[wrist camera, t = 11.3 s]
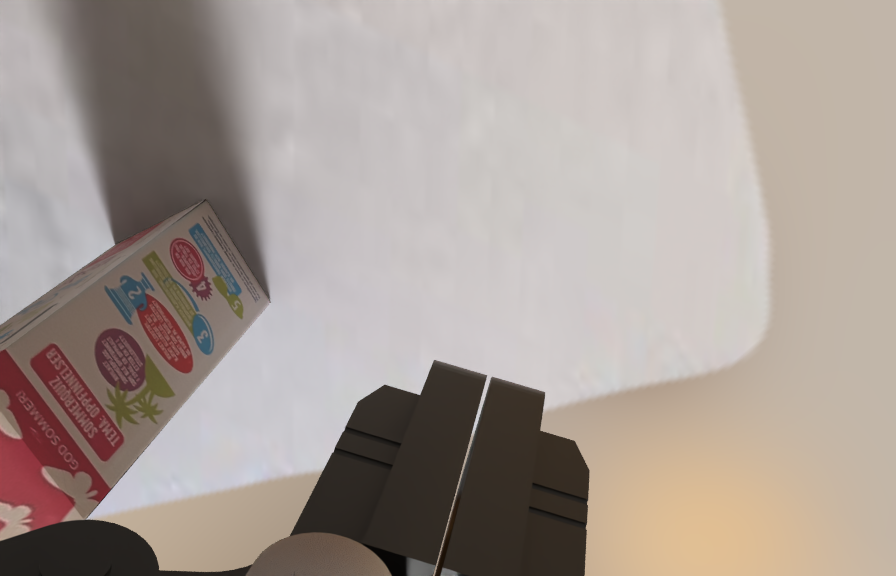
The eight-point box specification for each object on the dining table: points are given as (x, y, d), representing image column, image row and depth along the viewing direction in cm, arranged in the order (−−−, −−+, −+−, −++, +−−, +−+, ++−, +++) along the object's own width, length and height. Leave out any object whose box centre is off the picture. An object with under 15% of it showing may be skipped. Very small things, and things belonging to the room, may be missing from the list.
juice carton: (180, 342, 50) (-104, 633, 30) (114, 245, 48) (-234, 489, 28) (270, 302, 48) (27, 589, 28) (206, 199, 46) (-104, 429, 26)
